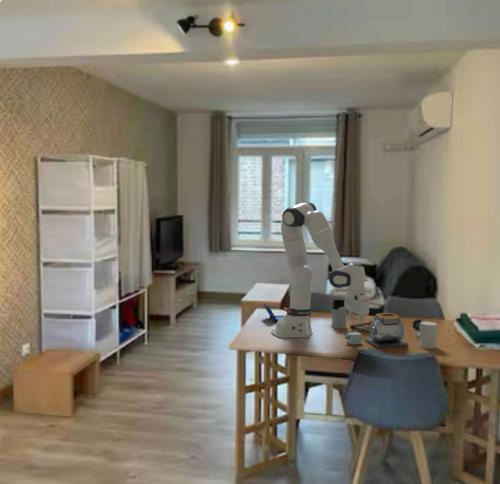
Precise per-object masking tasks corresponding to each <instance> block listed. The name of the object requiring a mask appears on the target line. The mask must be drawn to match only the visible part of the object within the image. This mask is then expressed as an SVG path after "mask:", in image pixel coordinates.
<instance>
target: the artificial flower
mask: <svg viewBox="0 0 500 484" xmlns="http://www.w3.org/2000/svg"><path fill="white" fill-rule="evenodd" d="M420 322H424V321H423V320H422V319H415V320H414V321H413V323H412V328H413V329H414V334H415V335H416V337H417V338H420Z"/></svg>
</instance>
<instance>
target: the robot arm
mask: <svg viewBox="0 0 500 484" xmlns="http://www.w3.org/2000/svg"><path fill="white" fill-rule="evenodd" d="M281 218H282V222H281V224H280V231H281V237H282V242H283V246H284V251H285V255H286V259H287V265H288V270H289V275H290V277H291V288H290V289H291V290H290V297H289V299H290V300H289V301H290V302H289V307H288V308H287V307H284V308H283V311H284V312H286V314H285V315H283V316H284V317H282V318H281V319H280V320H278V322H277V323H275V329H271V334H272V335H273V334H274V335H273V336H276V337H277V336H278V337H277V338H308V337H309V336H312V335H313V329H312V324H311V317H312V308H311V301H312V300H311V298H312V297H311V296H312V289H313V288H312V287H313V276H314V271H313V269H312V268H311V267H310V264H309V260H308V254H307V248H306V243H305V239H304V236H303V232H302V227H303V226H305V227H306V229H307V230H308V233H309V235H310V238H311V240H312V242H313V244H314V245H315V246H316V248H318V249H319V250H321V251H322V252H324V254H325V255H326V257H327V259H328V261H329V264H330V266H331V270H332V271H331V272H330V273H329V276H328V280H329V283H330V285H331V286H332V287H333V288H335V289H341V288H347V292H346V294H345V297H344V301H345V302H344V307H345V309H346V310H348V316H349V320H354V318H355V315H354V313H355V314H357V315H358V317H359V318H358V320H357V321H358V323H359V324H363V323H364V318H365V317H367V316H368V315H369V314H370V300H371V299H370V298H371V297H370V295H369V294H368V293H367V292H366V287H365V282H366V271H365V267H364V266H363V264H361V263H358V262H349V263H348V264H346V265H345V264H344V262H343V260H342V258H341V255H340V254H339V253H340V252H339V251H338V249H337V245H336V241H335V237H334V234H333V230H332V229H331V226H330V223H329V222H328V220H327V218H326V216H325V215H324V213H323V212H322V211H320V210H317V206H316V205H315V204H314V203H313V202H310V201H304V202H299V203H296V204H294V205H292V206H289V207H287V208H285V210H284V211H283V212H282V216H281Z"/></svg>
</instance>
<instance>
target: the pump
mask: <svg viewBox="0 0 500 484" xmlns="http://www.w3.org/2000/svg"><path fill="white" fill-rule="evenodd" d="M362 336H363V335H362V334H361V333H359V332H357V331H354V332H347V333H346V335H344V339H345V340H346V343H348V344H349V345H351V346H352V345H362Z"/></svg>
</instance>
